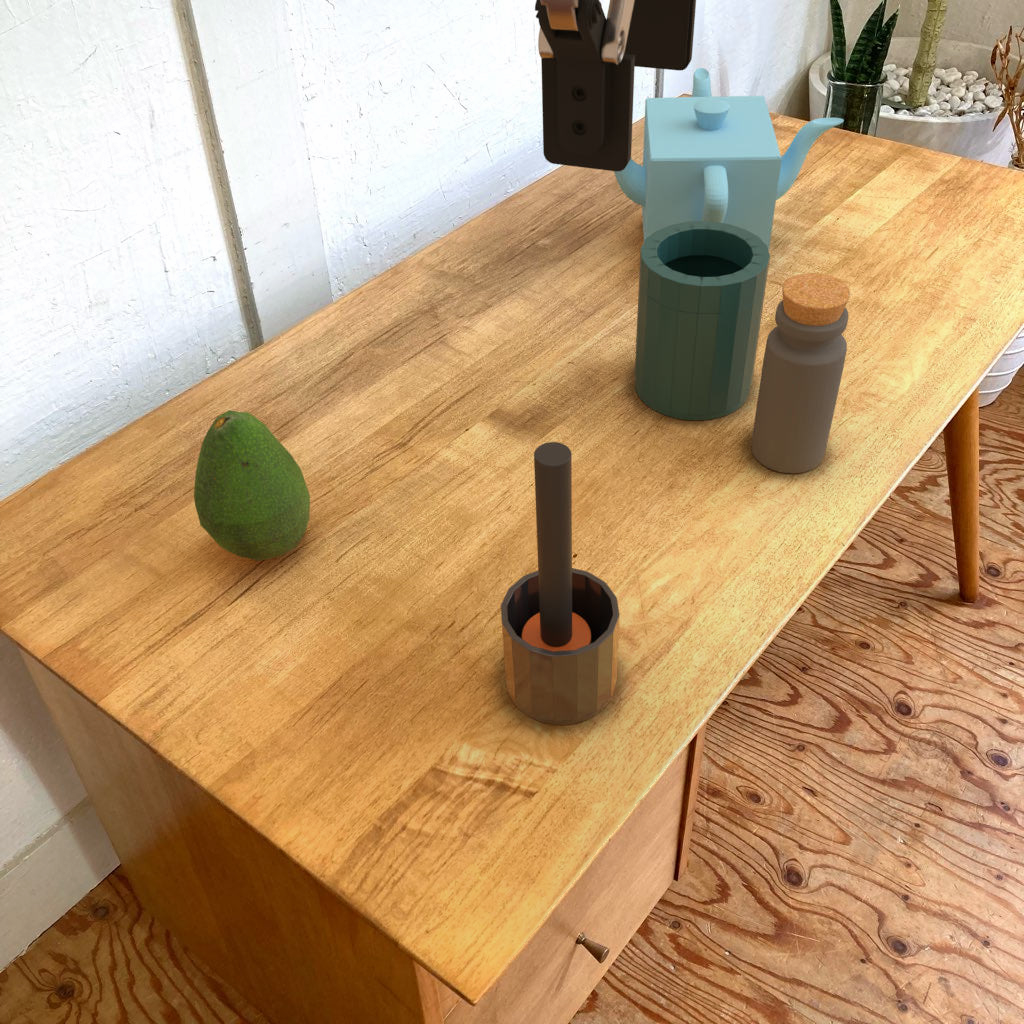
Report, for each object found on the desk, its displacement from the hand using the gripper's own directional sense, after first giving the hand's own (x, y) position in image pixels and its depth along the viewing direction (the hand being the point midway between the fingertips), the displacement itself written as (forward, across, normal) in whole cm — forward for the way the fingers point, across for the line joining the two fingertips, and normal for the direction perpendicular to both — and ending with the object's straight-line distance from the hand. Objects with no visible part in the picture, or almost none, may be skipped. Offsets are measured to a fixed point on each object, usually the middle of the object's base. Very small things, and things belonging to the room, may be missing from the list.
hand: (622, 111), depth 42 cm
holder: (+38, 0, +3) cm, 38 cm away
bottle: (+38, +28, -7) cm, 48 cm away
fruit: (+38, +5, +28) cm, 48 cm away
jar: (+38, +34, +2) cm, 51 cm away
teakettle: (+38, +59, +7) cm, 71 cm away
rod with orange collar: (+38, 0, +3) cm, 38 cm away
